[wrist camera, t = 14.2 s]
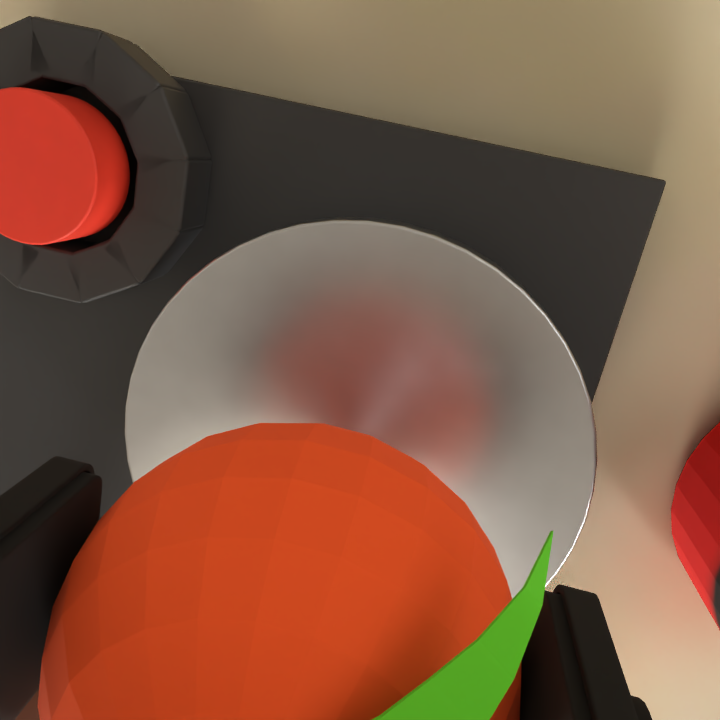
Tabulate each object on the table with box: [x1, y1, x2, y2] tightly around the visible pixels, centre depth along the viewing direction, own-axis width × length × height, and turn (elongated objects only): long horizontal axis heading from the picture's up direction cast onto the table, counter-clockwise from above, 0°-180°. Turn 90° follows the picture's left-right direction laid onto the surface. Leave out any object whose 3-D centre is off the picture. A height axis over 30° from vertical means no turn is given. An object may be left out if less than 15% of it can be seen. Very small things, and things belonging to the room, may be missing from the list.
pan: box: [125, 217, 597, 599], centre depth 16 cm, size 11×11×1 cm
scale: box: [0, 16, 666, 520], centre depth 17 cm, size 16×14×3 cm
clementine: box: [38, 423, 553, 720], centre depth 10 cm, size 8×7×7 cm
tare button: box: [0, 87, 130, 245], centre depth 15 cm, size 3×3×2 cm
